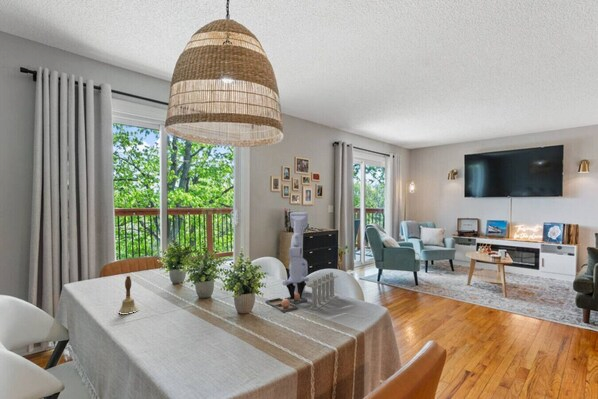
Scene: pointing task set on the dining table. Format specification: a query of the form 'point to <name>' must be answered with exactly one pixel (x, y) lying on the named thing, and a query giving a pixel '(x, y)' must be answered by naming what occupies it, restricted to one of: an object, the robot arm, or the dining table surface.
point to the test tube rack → (314, 291)
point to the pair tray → (277, 304)
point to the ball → (285, 303)
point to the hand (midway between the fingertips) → (296, 297)
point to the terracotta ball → (296, 296)
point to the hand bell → (128, 299)
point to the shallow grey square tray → (296, 301)
